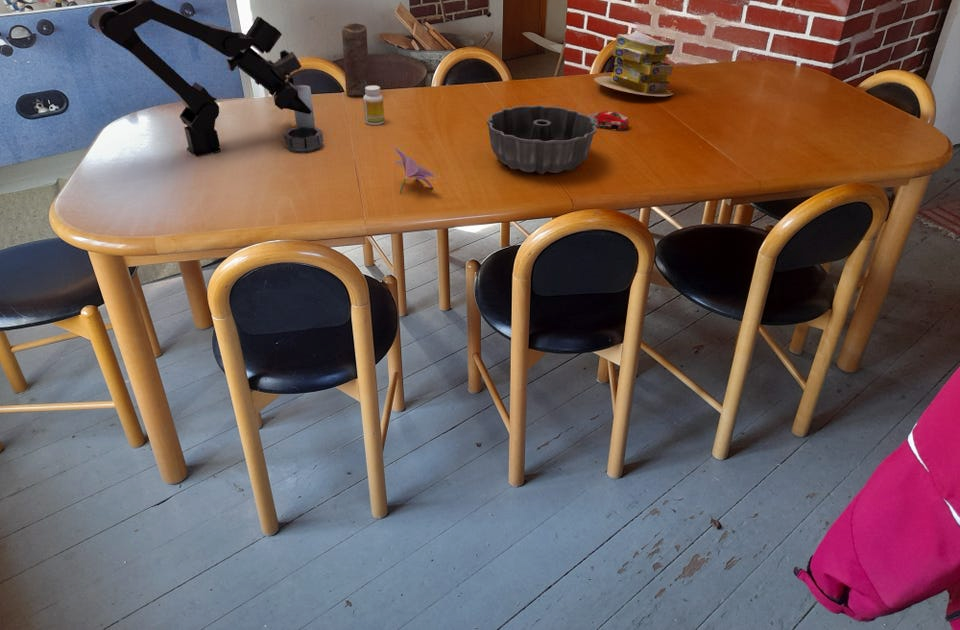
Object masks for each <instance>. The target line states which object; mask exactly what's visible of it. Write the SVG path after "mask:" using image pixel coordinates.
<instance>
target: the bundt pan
mask: <svg viewBox="0 0 960 630" xmlns="http://www.w3.org/2000/svg"><path fill="white" fill-rule="evenodd" d="M486 125H487V126H488V127H487V128H488V133H489V134H488V135H489V142H490V147H491V150H492V152H493V154H495V156H496V158H497V159H498V161H500V162H501V163H502V164H504V165H507V166H508V167H509V168H510V169H512V170H520V171H522V172H525V173H533V172H535V171H536V172H537V173H538V174H540V175H543V174H545V173H547V172H548V173H551V174H558V173H561V172H563V171H564V170H566V172H569V171H572V170H574V169H575V168H576V167H577V166H579V165H580V164H582V163H583V162H584V161H585V160H586V159H587V157H588V155H589V151H590V148H591V145H592V143H593V142H592V141H593V138H594V135H595V134H596V133H597V128H598V127H597V126H598V124H597V123H595V122H593V119H592V118H591V117H589V116H587V115H585V113H581V112H580V111H579V110H571V109H568V108H565V107H560V106H545V105H540V104H539V105H518V106H517V105H516V106H513V107H511V108H502V109H501V110H500V111H495V112H493V113H492V114H490V115H489V118H488V119H487V120H486Z"/></svg>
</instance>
